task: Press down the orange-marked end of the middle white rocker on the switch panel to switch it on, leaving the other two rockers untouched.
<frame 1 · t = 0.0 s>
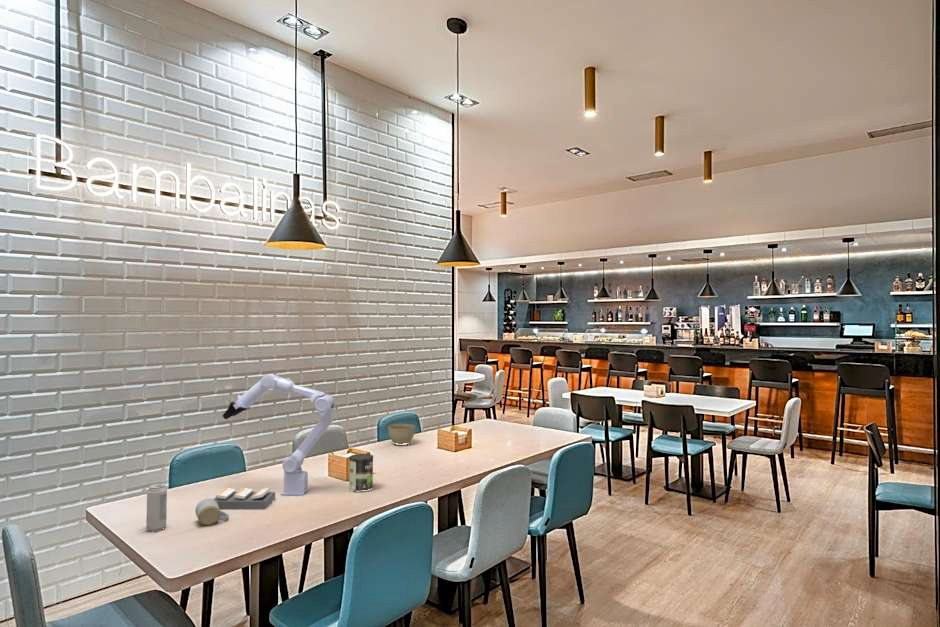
hand: (228, 416, 232), 32 cm above the table, tool tilted 50°, fingers open, 7 cm apart
rocker 1: (225, 493, 216), point 4 cm above the table, hinge at -12.0°
ceramic mug: (212, 522, 197), on the table
rocker 2: (261, 493, 217), point 4 cm above the table, hinge at 12.0°
energy drink can: (156, 529, 190), on the table
planter bowl: (401, 444, 325), on the table
switch panel: (243, 504, 216), on the table
rocker middle: (243, 493, 217), point 4 cm above the table, hinge at -12.0°
coffee can: (360, 489, 238), on the table
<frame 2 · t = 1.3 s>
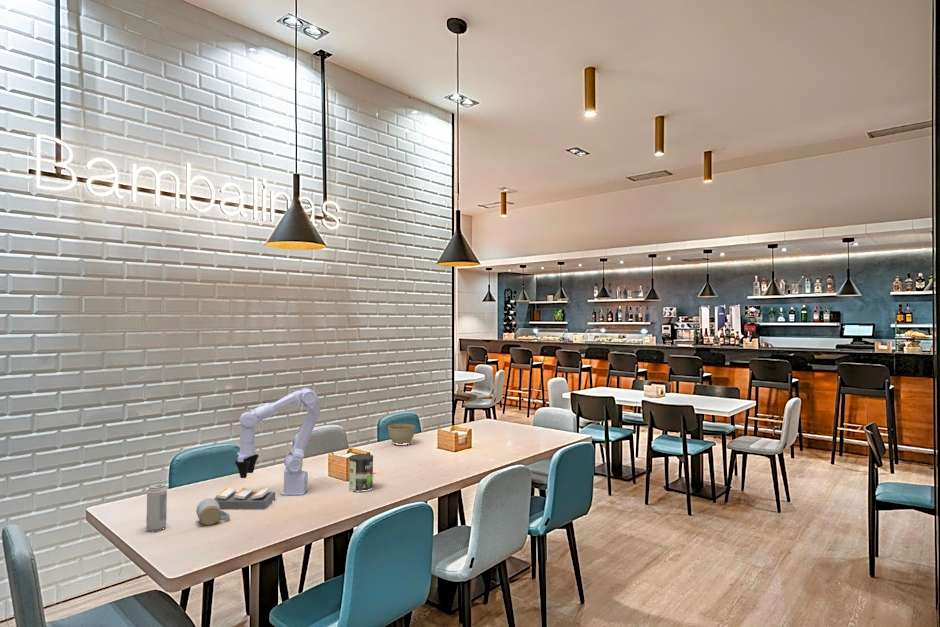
hand: (246, 475, 224), 9 cm above the table, tool pointing down, fingers open, 7 cm apart
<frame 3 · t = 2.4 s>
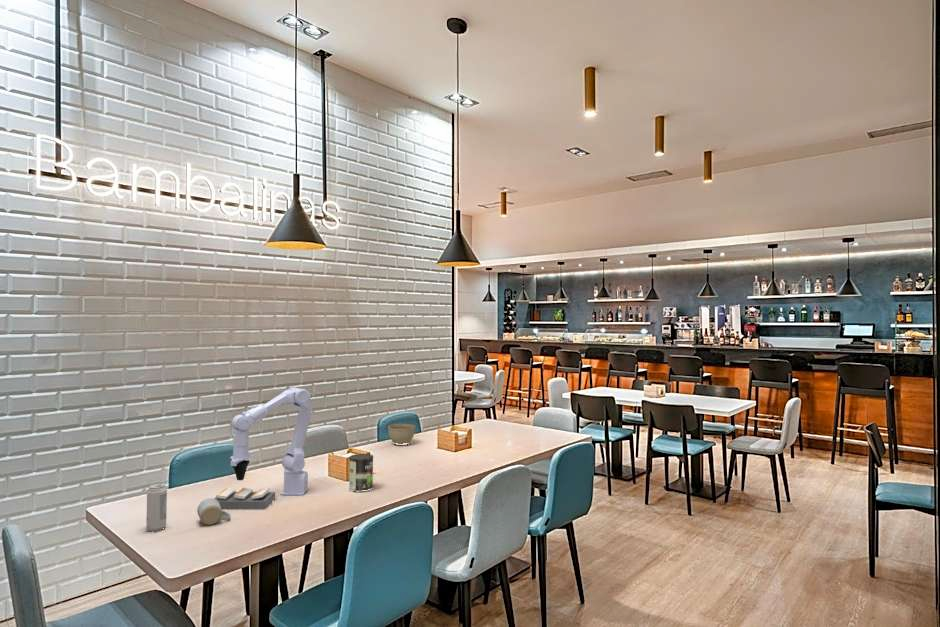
hand: (240, 479, 217), 9 cm above the table, tool pointing down, fingers closed
nothing on the table moved.
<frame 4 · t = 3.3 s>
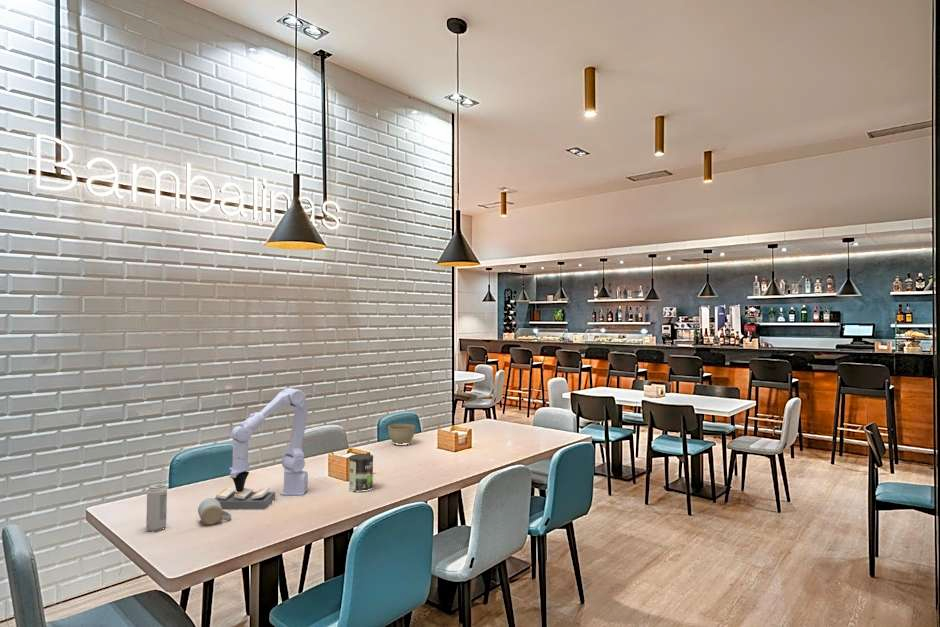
hand: (239, 491, 216), 5 cm above the table, tool pointing down, fingers closed, pressing on rocker middle
rocker middle: (243, 493, 217), point 4 cm above the table, hinge at -12.0°, touching gripper
everything else where it was.
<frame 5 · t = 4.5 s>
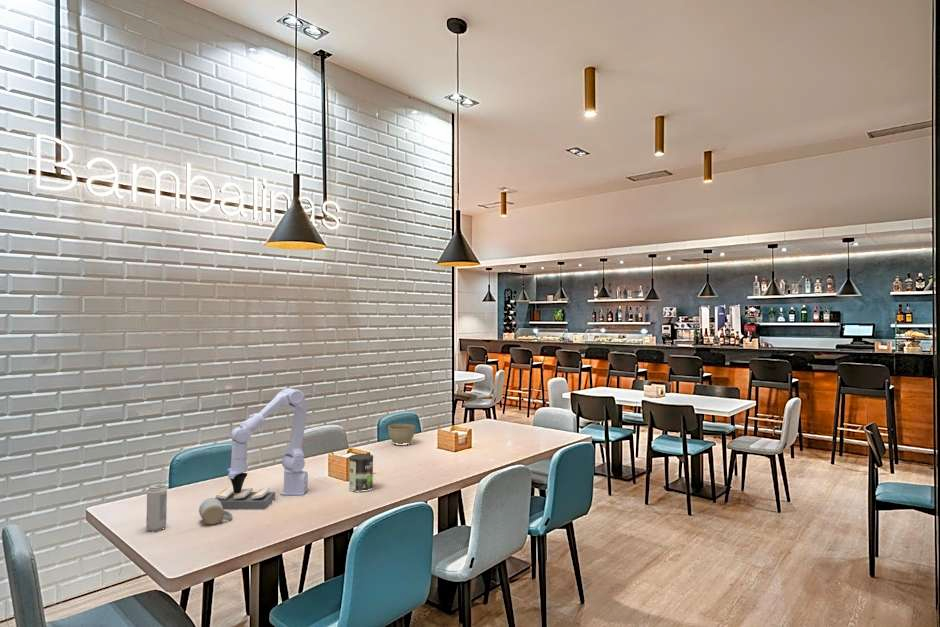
hand: (237, 492, 216), 5 cm above the table, tool pointing down, fingers closed, pressing on rocker middle
rocker middle: (243, 493, 217), point 4 cm above the table, hinge at 6.2°, touching gripper
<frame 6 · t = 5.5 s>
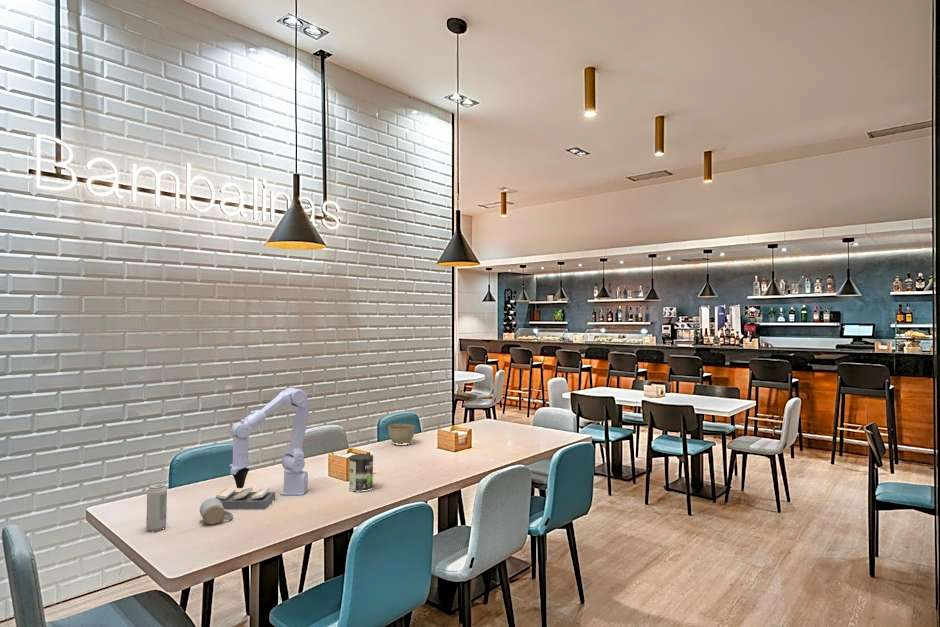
hand: (240, 487, 217), 6 cm above the table, tool pointing down, fingers closed
rocker middle: (243, 493, 216), point 4 cm above the table, hinge at 15.6°
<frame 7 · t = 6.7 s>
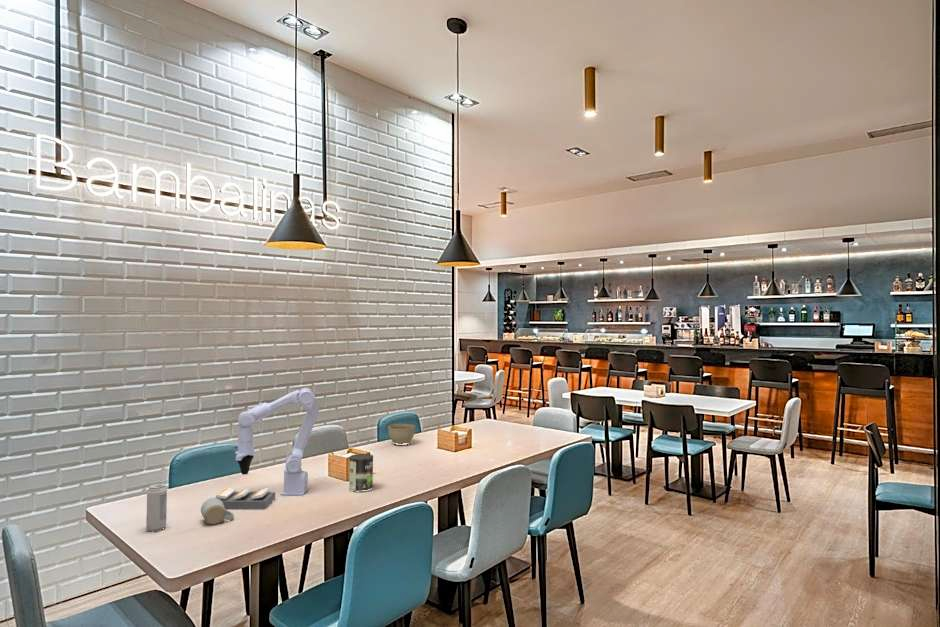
hand: (244, 474, 226), 9 cm above the table, tool pointing down, fingers closed
rocker middle: (243, 493, 216), point 4 cm above the table, hinge at 19.8°
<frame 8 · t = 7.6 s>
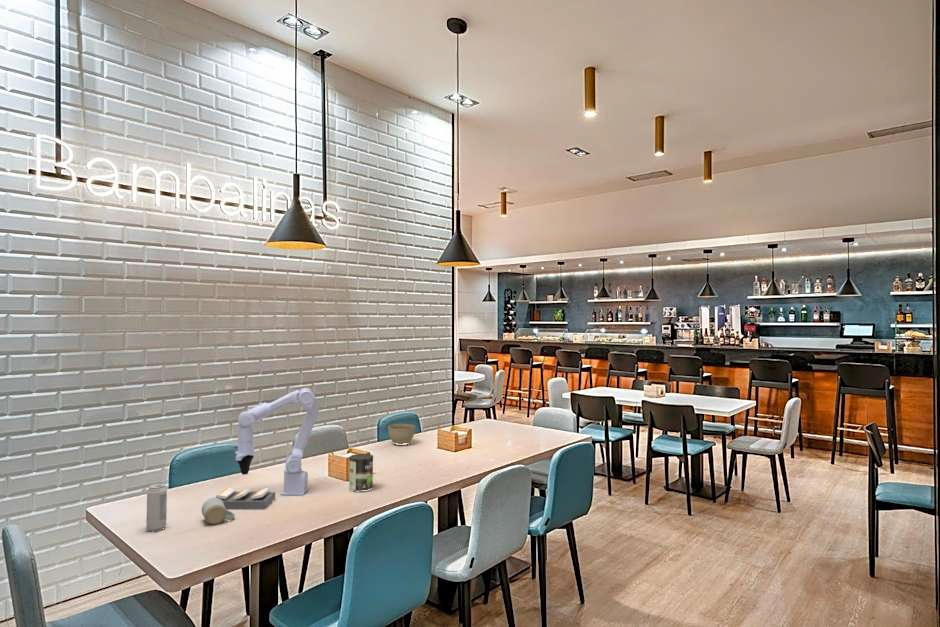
hand: (244, 474, 226), 9 cm above the table, tool pointing down, fingers closed
rocker middle: (243, 493, 216), point 4 cm above the table, hinge at 22.4°, touching switch panel
at the end: rocker middle at +23° (first picture: -12°); rocker 2 at +12° (first picture: +12°); rocker 1 at -12° (first picture: -12°) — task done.
